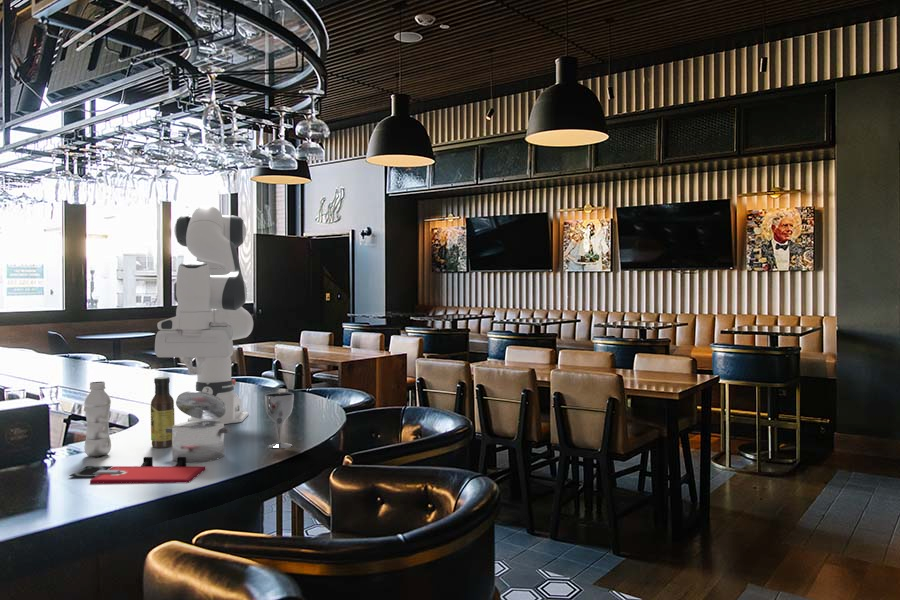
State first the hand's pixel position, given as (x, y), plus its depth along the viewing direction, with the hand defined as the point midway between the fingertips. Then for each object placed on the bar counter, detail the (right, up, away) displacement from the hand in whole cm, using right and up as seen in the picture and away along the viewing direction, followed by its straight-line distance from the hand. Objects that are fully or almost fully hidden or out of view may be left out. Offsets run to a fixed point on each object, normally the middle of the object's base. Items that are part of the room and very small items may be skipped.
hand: (194, 374), depth 174 cm
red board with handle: (-8, -23, -15) cm, 29 cm away
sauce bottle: (-15, -23, +15) cm, 31 cm away
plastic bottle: (-28, -23, +4) cm, 36 cm away
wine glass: (+19, -22, +14) cm, 32 cm away
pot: (0, -22, +2) cm, 22 cm away
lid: (0, -9, +3) cm, 10 cm away
